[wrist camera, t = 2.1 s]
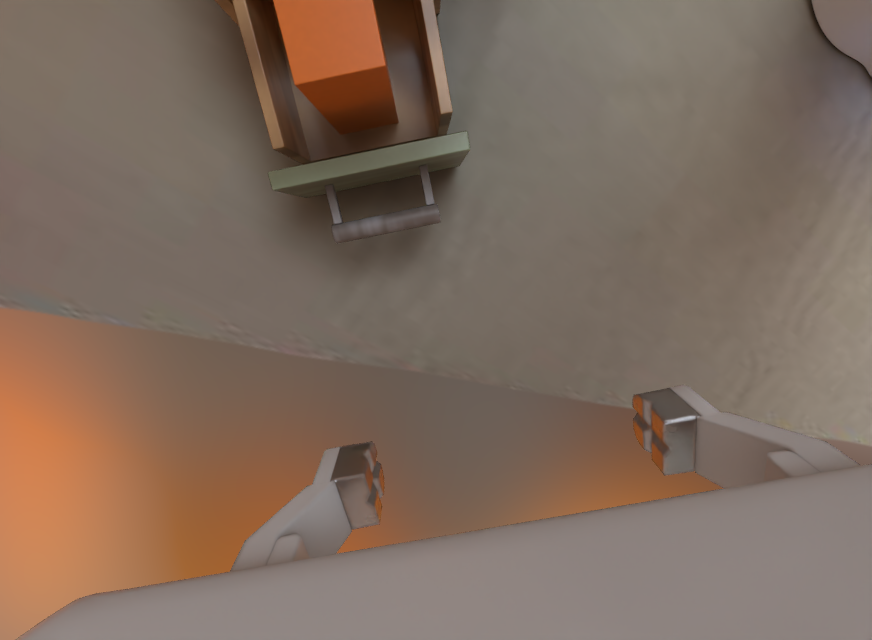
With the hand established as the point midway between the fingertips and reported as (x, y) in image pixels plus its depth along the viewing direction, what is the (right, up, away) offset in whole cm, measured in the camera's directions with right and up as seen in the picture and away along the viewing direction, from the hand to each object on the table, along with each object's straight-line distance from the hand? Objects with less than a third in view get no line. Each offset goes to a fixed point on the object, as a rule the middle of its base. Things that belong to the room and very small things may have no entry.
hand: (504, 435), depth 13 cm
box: (-8, +21, +19) cm, 30 cm away
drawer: (-8, +20, +21) cm, 30 cm away
